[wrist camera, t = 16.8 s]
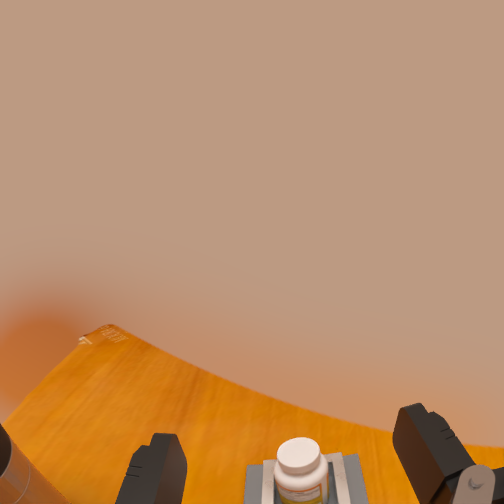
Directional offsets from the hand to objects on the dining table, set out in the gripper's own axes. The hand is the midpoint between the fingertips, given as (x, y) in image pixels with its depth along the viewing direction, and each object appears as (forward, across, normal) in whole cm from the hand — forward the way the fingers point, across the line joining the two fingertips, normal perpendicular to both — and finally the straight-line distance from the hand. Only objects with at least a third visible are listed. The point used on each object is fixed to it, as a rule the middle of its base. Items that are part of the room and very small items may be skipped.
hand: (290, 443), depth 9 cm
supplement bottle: (+11, -2, +25) cm, 27 cm away
